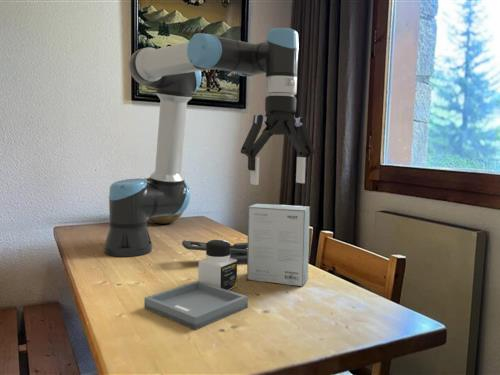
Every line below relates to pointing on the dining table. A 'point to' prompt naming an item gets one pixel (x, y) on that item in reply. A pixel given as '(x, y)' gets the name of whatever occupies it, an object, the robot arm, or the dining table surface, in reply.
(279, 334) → the dining table surface
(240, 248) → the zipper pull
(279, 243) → the hard drive box
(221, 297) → the tray
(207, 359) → the dining table surface
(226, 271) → the medicine bottle
